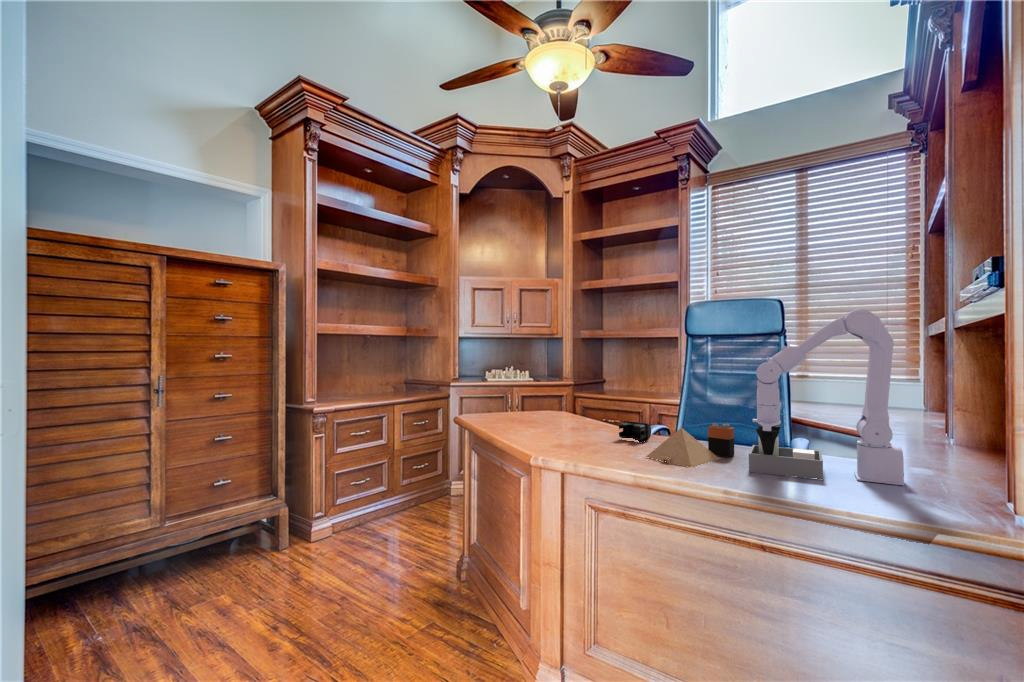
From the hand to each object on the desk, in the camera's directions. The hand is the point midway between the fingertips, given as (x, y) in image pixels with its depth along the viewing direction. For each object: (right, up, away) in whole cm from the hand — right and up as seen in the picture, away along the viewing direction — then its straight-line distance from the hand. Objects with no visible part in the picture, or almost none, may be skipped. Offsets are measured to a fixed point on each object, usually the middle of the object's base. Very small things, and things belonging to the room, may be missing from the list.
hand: (768, 452), depth 134 cm
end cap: (-27, -6, +41) cm, 50 cm away
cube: (+7, -4, -4) cm, 9 cm away
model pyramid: (-20, -5, +13) cm, 25 cm away
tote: (+3, -4, -2) cm, 6 cm away
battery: (-6, -5, +17) cm, 18 cm away
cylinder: (0, -2, 0) cm, 2 cm away
